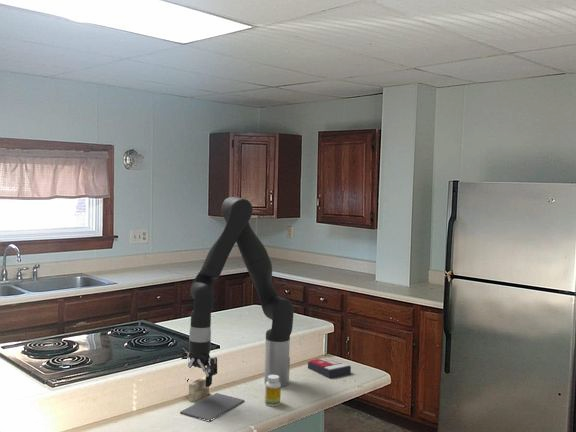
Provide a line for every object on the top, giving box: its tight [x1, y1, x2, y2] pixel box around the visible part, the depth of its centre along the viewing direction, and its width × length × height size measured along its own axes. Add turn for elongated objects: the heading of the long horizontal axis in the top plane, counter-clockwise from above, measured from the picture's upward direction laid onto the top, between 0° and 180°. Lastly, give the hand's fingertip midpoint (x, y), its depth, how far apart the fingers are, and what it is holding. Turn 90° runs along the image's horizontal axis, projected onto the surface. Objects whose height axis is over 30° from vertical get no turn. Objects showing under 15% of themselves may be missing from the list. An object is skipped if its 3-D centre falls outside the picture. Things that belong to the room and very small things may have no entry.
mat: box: [179, 392, 245, 422], centre depth 192 cm, size 20×12×1 cm, turn 151°
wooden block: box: [188, 375, 210, 402], centre depth 201 cm, size 9×2×6 cm, turn 151°
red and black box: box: [307, 356, 352, 380], centre depth 233 cm, size 11×4×15 cm
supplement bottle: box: [264, 375, 282, 407], centre depth 197 cm, size 5×5×10 cm
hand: (198, 383), depth 201 cm, fingers open, 8 cm apart
